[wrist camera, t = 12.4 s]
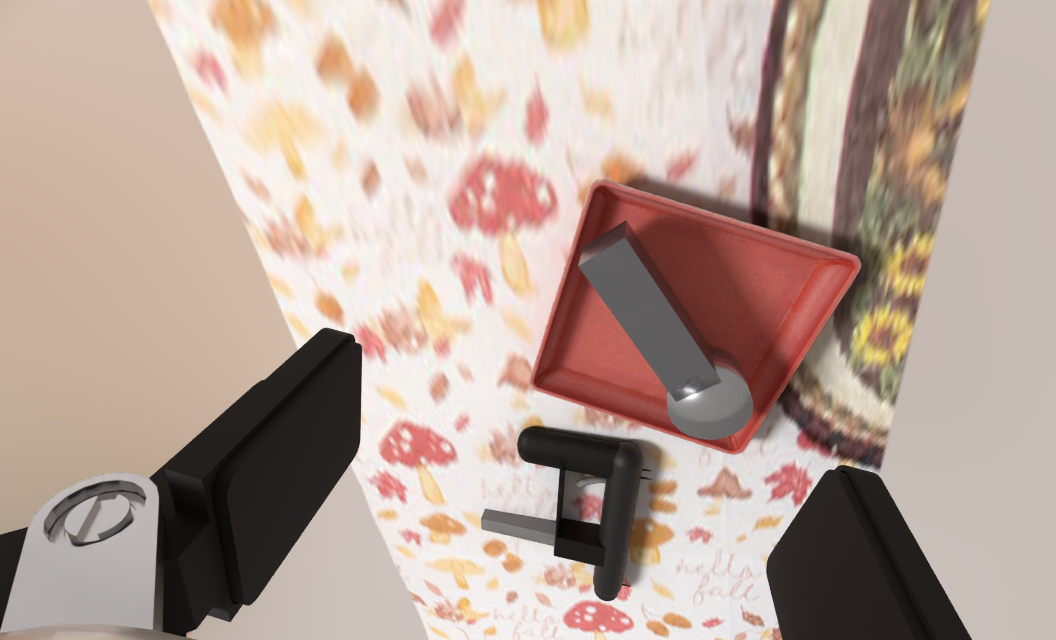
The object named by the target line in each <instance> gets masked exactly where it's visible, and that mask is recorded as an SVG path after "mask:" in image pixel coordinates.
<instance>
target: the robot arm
mask: <svg viewBox="0 0 1056 640" xmlns="http://www.w3.org/2000/svg"><path fill="white" fill-rule="evenodd" d="M361 379H362V347H361V345H360V344H359V343H355V338H354V336H353V335H352V334H349V333H345V332H341V331H337V330H334V329H330V328H323V329H321V330H320V331H319V332H318V333H317V334H316V335H314V336H313V337H312V338H311V339H310V340H309V341H308V342H307V343H305V344H304V345H303V346H302V347H301V348H300V349H299V350H298V351H297V352H295V353H294V354H293V355H292V356H291V357H290V358H289V359H288V360H286V361H285V363H283V364H282V365H281V366H280V367H279V368H278V369H276V370H275V371H274V372H273V373H272V374H271V375H270V376H269V377H267V379H265V380H262V381H260V382H259V383H257V384H256V385H254V386H253V387H252V388H251V389H250V390H249V391H247V392H246V393H245V394H244V395H243V396H242V397H241V398H239V399H238V400H237V401H236V402H235V403H234V404H233V405H232V406H230V407H229V408H228V409H227V410H226V411H225V412H224V413H222V414H221V415H220V416H219V417H218V418H217V419H216V420H215V421H213V422H212V423H211V424H210V425H209V426H208V427H207V428H205V429H204V430H203V431H202V432H201V433H200V434H199V435H198V436H196V437H195V438H194V439H193V440H192V441H191V442H190V443H189V444H187V445H186V446H185V447H184V448H183V449H182V450H181V451H179V453H177V454H176V455H175V456H174V457H173V458H171V459H170V460H169V461H168V462H167V463H166V464H165V465H164V466H162V467H161V468H160V469H159V470H158V471H157V472H156V473H155V474H153V475H152V476H151V477H150V478H146V477H144V476H141V475H139V474H135V473H124V472H118V473H110V474H102V475H99V476H95V477H92V478H88V479H85V480H82V481H80V482H78V483H76V484H74V485H72V486H70V487H68V488H65V489H64V490H62V491H61V492H59V493H58V494H56V495H55V496H54V497H52V498H51V499H49V500H48V501H47V502H46V503H45V504H44V505H43V506H42V507H41V508H40V510H38V512H36V513H35V515H34V517H33V519H32V521H31V523H30V525H29V527H26V528H23V529H19V530H16V531H12V532H8V533H5V534H1V535H0V640H194V639H192V631H193V630H195V629H197V627H198V626H199V625H200V624H201V622H202V621H203V620H204V618H205V617H206V616H207V615H209V616H213V617H216V618H219V619H222V620H225V621H228V622H231V620H232V619H233V618H234V616H235V615H236V614H237V612H238V611H239V609H240V608H241V606H242V605H243V604H244V605H248V606H249V605H251V604H252V603H253V602H254V601H255V600H256V599H257V598H258V597H259V595H260V594H261V592H262V591H263V589H264V588H265V587H266V585H267V583H268V582H269V581H270V579H271V577H272V576H273V575H274V573H275V572H276V571H277V569H278V568H279V566H280V565H281V563H282V562H283V560H284V559H285V558H286V556H287V555H288V553H289V552H290V550H291V549H292V547H293V546H294V544H295V543H296V542H297V540H298V539H299V537H300V536H301V534H302V533H303V531H304V530H305V528H306V527H307V526H308V524H309V522H310V521H311V520H312V518H313V517H314V515H315V514H316V513H317V511H318V510H319V508H320V507H321V505H322V504H323V502H324V501H325V499H326V498H327V496H328V495H329V494H330V492H331V491H332V489H333V488H334V486H335V485H336V484H337V482H338V481H339V479H340V478H341V476H342V475H343V473H344V472H345V470H346V469H347V467H348V466H349V465H350V463H351V462H352V460H353V459H354V457H355V456H356V453H357V451H358V448H359V445H360V429H361ZM766 572H767V578H768V582H769V586H770V590H771V594H772V599H773V603H774V607H775V611H776V615H777V619H778V623H779V627H780V631H781V635H782V639H783V640H972V639H971V637H970V635H969V634H968V632H967V630H966V628H965V627H964V625H963V623H962V621H961V619H960V618H959V616H958V614H957V612H956V611H955V609H954V607H953V605H952V603H951V602H950V600H949V598H948V596H947V595H946V593H945V591H944V589H943V587H942V586H941V584H940V582H939V580H938V579H937V577H936V575H935V573H934V572H933V570H932V568H931V567H930V564H929V563H928V561H927V559H926V557H925V556H924V554H923V552H922V550H921V548H920V547H919V545H918V543H917V541H916V540H915V538H914V536H913V534H912V533H911V531H910V529H909V527H908V525H907V524H906V522H905V520H904V518H903V517H902V515H901V513H900V511H899V509H898V508H897V506H896V504H895V502H894V501H893V499H892V497H891V496H890V493H889V492H888V490H887V488H886V486H885V485H884V483H883V481H882V479H881V478H880V477H879V476H878V475H877V474H875V473H873V472H869V471H865V470H861V469H858V468H854V467H850V466H846V465H840V466H838V467H837V468H836V469H835V470H828V471H826V472H825V473H824V475H823V476H822V478H821V479H820V481H819V482H818V484H817V485H816V487H815V488H814V490H813V491H812V493H811V494H810V496H809V497H808V499H807V500H806V502H805V503H804V505H803V506H802V508H801V509H800V511H799V512H798V514H797V515H796V517H795V518H794V520H793V521H792V523H791V524H790V526H789V527H788V528H787V530H786V531H785V533H784V534H783V536H782V537H781V539H780V540H779V542H778V543H777V545H776V546H775V548H774V549H773V551H772V552H771V554H770V556H769V558H768V561H767V567H766Z"/></svg>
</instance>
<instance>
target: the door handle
mask: <svg viewBox="0 0 1056 640" xmlns="http://www.w3.org/2000/svg"><path fill="white" fill-rule="evenodd" d="M517 447H518V452H519V455H520V457H521V458H522V459H523V460H524V461H526V462H528V463H533V464H538V465H543V466H548V467H553V468H558V469H560V474H559V489H558V503H557V518H556V522H555V521H551V520H546V519H542V518H536V517H530V516H524V515H518V514H512V513H506V512H500V511H495V510H489V509H485V511H484V513H483V516H482V518H481V524H482V529H483V530H487V531H491V532H496V533H500V534H504V535H509V536H513V537H517V538H522V539H526V540H530V541H534V542H539V543H543V544H547V545H552V546H554V556H557V557H562V558H566V559H570V560H574V561H579V562H583V563H587V564H591V565H595V569H594V577H593V583H594V591H595V594H596V595H597V596H598V597H599V598H600V599H601V600H604V601H612V600H614V599H615V598H616V597H617V595H618V592H619V591H620V589H621V586H622V585H624V586H629V587H630V585H626V584H622V581H623V575H624V570H625V564H626V558H627V552H628V546H629V541H630V535H631V529H632V523H633V518H634V512H635V506H636V500H637V495H638V489H639V483H640V479H649V478H645V477H642V476H641V472H642V470H643V471H650V470H646V469H643V468H642V466H643V455H642V452H641V451H640V449H639V448H638V447H637V446H636V445H635V444H633V443H630V442H620V443H614V442H609V441H603V440H598V439H592V438H587V437H581V436H576V435H571V434H565V433H560V432H554V431H549V430H544V429H538V428H533V427H528V428H526V429H524V430H523V431H522V432H521V434H520V436H519V438H518V444H517ZM565 470H568V471H573V472H578V473H583V474H588V475H593V476H594V477H588V478H584V479H581V480H579V481H577V482H576V484H577V486H578V487H579V488H581V487H583V486H587V485H590V484H596V483H606V484H605V492H604V500H603V507H602V515H601V523H600V525H599V524H594V523H588V522H582V521H576V520H570V519H564V518H562V506H563V493H564V480H565ZM650 480H652V479H650Z"/></svg>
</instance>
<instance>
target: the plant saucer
mask: <svg viewBox="0 0 1056 640" xmlns="http://www.w3.org/2000/svg"><path fill="white" fill-rule="evenodd" d="M625 220H627V222H628V223H629V225H630V226H631V228H632V229H633V231H634V232H635V234H636V235H637V237H638V239H639V240H640V242H641V243H642V245H643V246H644V248H645V249H646V251H647V252H648V254H649V255H650V257H651V258H652V260H653V261H654V263H655V264H656V266H657V267H658V269H659V270H660V272H661V273H662V275H663V276H664V278H665V279H666V281H667V282H668V284H669V285H670V287H671V288H672V290H673V291H674V293H675V294H676V296H677V297H678V299H679V300H680V302H681V303H682V305H683V306H684V308H685V309H686V311H687V312H688V314H689V315H690V317H691V318H692V320H693V321H694V323H695V324H696V326H697V327H698V329H699V330H700V332H701V333H702V335H703V336H704V338H705V339H706V341H707V342H708V344H709V345H710V346H711V347H717V348H720V349H723V350H725V351H727V352H729V353H730V354H732V355H733V356H734V357H735V358H736V359H737V360H738V361H739V363H740V364H741V366H742V369H743V372H744V375H745V378H746V381H747V384H748V387H749V390H750V393H751V397H752V400H753V413H752V416H751V418H750V420H749V421H748V423H747V424H746V425H745V426H744V427H743V428H742V429H741V430H740V431H738V432H736V433H735V434H733V435H731V436H728V437H725V438H721V439H714V440H706V439H699V438H695V437H691V436H689V435H687V434H685V433H683V432H682V431H680V430H679V429H678V428H677V427H676V426H675V425H674V424H673V423H672V421H671V420H670V417H669V414H668V409H667V397H666V388H665V386H664V385H663V383H662V382H661V381H660V379H659V378H658V376H657V375H656V374H655V372H654V371H653V369H652V368H651V367H650V365H649V364H648V362H647V361H646V360H645V358H644V357H643V356H642V354H641V353H640V351H639V350H638V349H637V347H636V346H635V344H634V343H633V342H632V340H631V339H630V337H629V336H628V335H627V333H626V332H625V331H624V329H623V328H622V326H621V325H620V324H619V322H618V321H617V319H616V318H615V317H614V315H613V314H612V312H611V311H610V310H609V308H608V307H607V306H606V304H605V303H604V301H603V300H602V299H601V297H600V296H599V294H598V293H597V292H596V290H595V289H594V287H593V286H592V285H591V283H590V282H589V281H588V279H587V278H586V276H585V275H584V274H583V272H582V271H581V269H580V268H579V267H578V265H579V261H580V258H581V254H582V250H583V247H584V246H585V245H587V244H589V243H590V242H592V241H593V240H595V239H597V238H598V237H600V236H601V235H603V234H604V233H606V232H608V231H609V230H611V229H612V228H614V227H616V226H617V225H619V224H620V223H622V222H624V221H625ZM860 269H861V261H860V260H859V258H858V257H857V256H855V255H853V254H850V253H847V252H844V251H841V250H837V249H834V248H831V247H827V246H824V245H820V244H817V243H814V242H811V241H807V240H804V239H800V238H797V237H794V236H790V235H787V234H784V233H780V232H777V231H774V230H770V229H767V228H764V227H760V226H757V225H754V224H751V223H747V222H743V221H740V220H737V219H734V218H731V217H727V216H724V215H721V214H717V213H714V212H711V211H708V210H705V209H701V208H697V207H694V206H691V205H688V204H684V203H681V202H678V201H675V200H672V199H668V198H665V197H661V196H658V195H655V194H652V193H649V192H645V191H642V190H639V189H636V188H632V187H629V186H626V185H623V184H619V183H616V182H613V181H609V180H605V179H601V180H596V181H595V182H593V183H592V184H591V185H590V188H589V190H588V193H587V196H586V200H585V203H584V207H583V210H582V213H581V216H580V219H579V222H578V226H577V229H576V233H575V236H574V239H573V242H572V246H571V249H570V252H569V255H568V258H567V261H566V265H565V268H564V272H563V275H562V278H561V281H560V284H559V287H558V291H557V294H556V298H555V301H554V303H553V306H552V309H551V313H550V316H549V320H548V323H547V326H546V329H545V333H544V336H543V339H542V342H541V346H540V349H539V352H538V355H537V358H536V362H535V364H534V367H533V371H532V374H531V377H530V384H531V386H532V387H533V389H534V390H536V391H539V392H542V393H545V394H548V395H551V396H554V397H557V398H560V399H563V400H566V401H569V402H573V403H576V404H579V405H582V406H585V407H588V408H591V409H593V410H596V411H600V412H603V413H606V414H609V415H612V416H615V417H618V418H621V419H624V420H627V421H630V422H633V423H636V424H639V425H643V426H646V427H648V428H651V429H654V430H658V431H661V432H663V433H666V434H669V435H673V436H676V437H679V438H682V439H685V440H688V441H691V442H694V443H697V444H700V445H703V446H706V447H709V448H712V449H715V450H718V451H721V452H724V453H727V454H740V453H742V452H743V451H744V450H745V449H746V447H747V445H748V444H749V442H750V440H751V439H752V437H753V436H754V435H755V433H756V431H757V430H758V429H759V427H760V425H761V424H762V422H763V420H764V419H765V417H766V416H767V415H768V413H769V411H770V410H771V408H772V407H773V405H774V404H775V402H776V401H777V399H778V398H779V396H780V394H781V393H782V392H783V390H784V389H785V387H786V385H787V383H788V382H789V380H790V379H791V377H792V376H793V374H794V373H795V371H796V369H797V368H798V367H799V365H800V363H801V362H802V360H803V359H804V357H805V355H806V354H807V353H808V351H809V350H810V348H811V346H812V344H813V343H814V341H815V340H816V338H817V337H818V335H819V334H820V332H821V330H822V329H823V327H824V326H825V324H826V323H827V321H828V320H829V318H830V317H831V315H832V314H833V312H834V310H835V308H836V307H837V305H838V304H839V302H840V301H841V299H842V297H843V296H844V295H845V293H846V292H847V290H848V289H849V287H850V286H851V284H852V283H853V281H854V279H855V278H856V276H857V274H858V273H859V271H860Z"/></svg>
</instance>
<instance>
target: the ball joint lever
mask: <svg viewBox="0 0 1056 640" xmlns="http://www.w3.org/2000/svg"><path fill="white" fill-rule="evenodd" d="M578 267H579V268H580V269H581V271H582V272H583V274H584V275H585V276H586V278H587V279H588V281H589V282H590V283H591V285H592V286H593V287H594V289H595V290H596V292H597V293H598V294H599V296H600V297H601V299H602V300H603V301H604V303H605V304H606V306H607V307H608V308H609V310H610V311H611V312H612V314H613V315H614V317H615V318H616V319H617V321H618V322H619V324H620V325H621V326H622V328H623V329H624V331H625V332H626V333H627V335H628V336H629V337H630V339H631V340H632V342H633V343H634V344H635V346H636V347H637V349H638V350H639V351H640V353H641V354H642V356H643V357H644V358H645V360H646V361H647V362H648V364H649V365H650V367H651V368H652V369H653V371H654V372H655V374H656V375H657V376H658V378H659V379H660V381H661V382H662V383H663V385H664V386H665V388H666V397H667V409H668V414H669V417H670V420H671V421H672V423H673V424H674V425H675V426H676V427H677V428H678V429H679V430H680V431H682V432H683V433H685V434H687V435H689V436H691V437H695V438H699V439H706V440H714V439H721V438H725V437H728V436H731V435H733V434H735V433H736V432H738V431H740V430H741V429H742V428H743V427H744V426H745V425H746V424H747V423H748V421H749V420H750V418H751V416H752V413H753V400H752V397H751V393H750V390H749V387H748V384H747V381H746V378H745V375H744V372H743V369H742V366H741V364H740V363H739V361H738V360H737V359H736V358H735V357H734V356H733V355H732V354H730V353H729V352H727V351H725V350H723V349H720V348H717V347H711V346H710V345H709V344H708V342H707V341H706V339H705V338H704V336H703V335H702V333H701V332H700V330H699V329H698V327H697V326H696V324H695V323H694V321H693V320H692V318H691V317H690V315H689V314H688V312H687V311H686V309H685V308H684V306H683V305H682V303H681V302H680V300H679V299H678V297H677V296H676V294H675V293H674V291H673V290H672V288H671V287H670V285H669V284H668V282H667V281H666V279H665V278H664V276H663V275H662V273H661V272H660V270H659V269H658V267H657V266H656V264H655V263H654V261H653V260H652V258H651V257H650V255H649V254H648V252H647V251H646V249H645V248H644V246H643V245H642V243H641V242H640V240H639V239H638V237H637V235H636V234H635V232H634V231H633V229H632V228H631V226H630V225H629V223H628V222H627V220H625V221H624V222H622V223H620V224H619V225H617V226H616V227H614V228H612V229H611V230H609V231H608V232H606V233H604V234H603V235H601V236H600V237H598V238H597V239H595V240H593V241H592V242H590V243H589V244H587V245H585V246H584V247H583V250H582V254H581V258H580V261H579V265H578Z"/></svg>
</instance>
